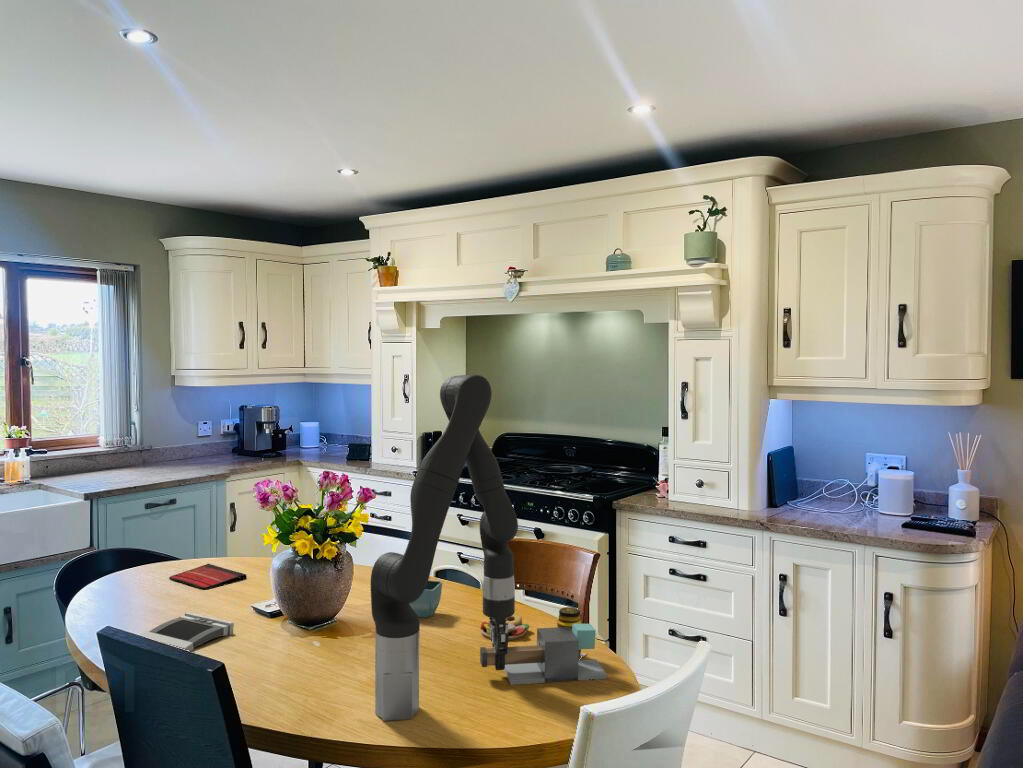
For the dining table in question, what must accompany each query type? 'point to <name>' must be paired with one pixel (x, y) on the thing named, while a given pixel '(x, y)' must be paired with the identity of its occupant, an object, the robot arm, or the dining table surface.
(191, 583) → the binder
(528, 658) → the shaft
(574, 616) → the condiment
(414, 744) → the dining table surface
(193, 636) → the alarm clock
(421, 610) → the flower pot
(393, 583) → the robot arm
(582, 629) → the block
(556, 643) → the bearing block
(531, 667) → the base plate
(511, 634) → the toy food set
